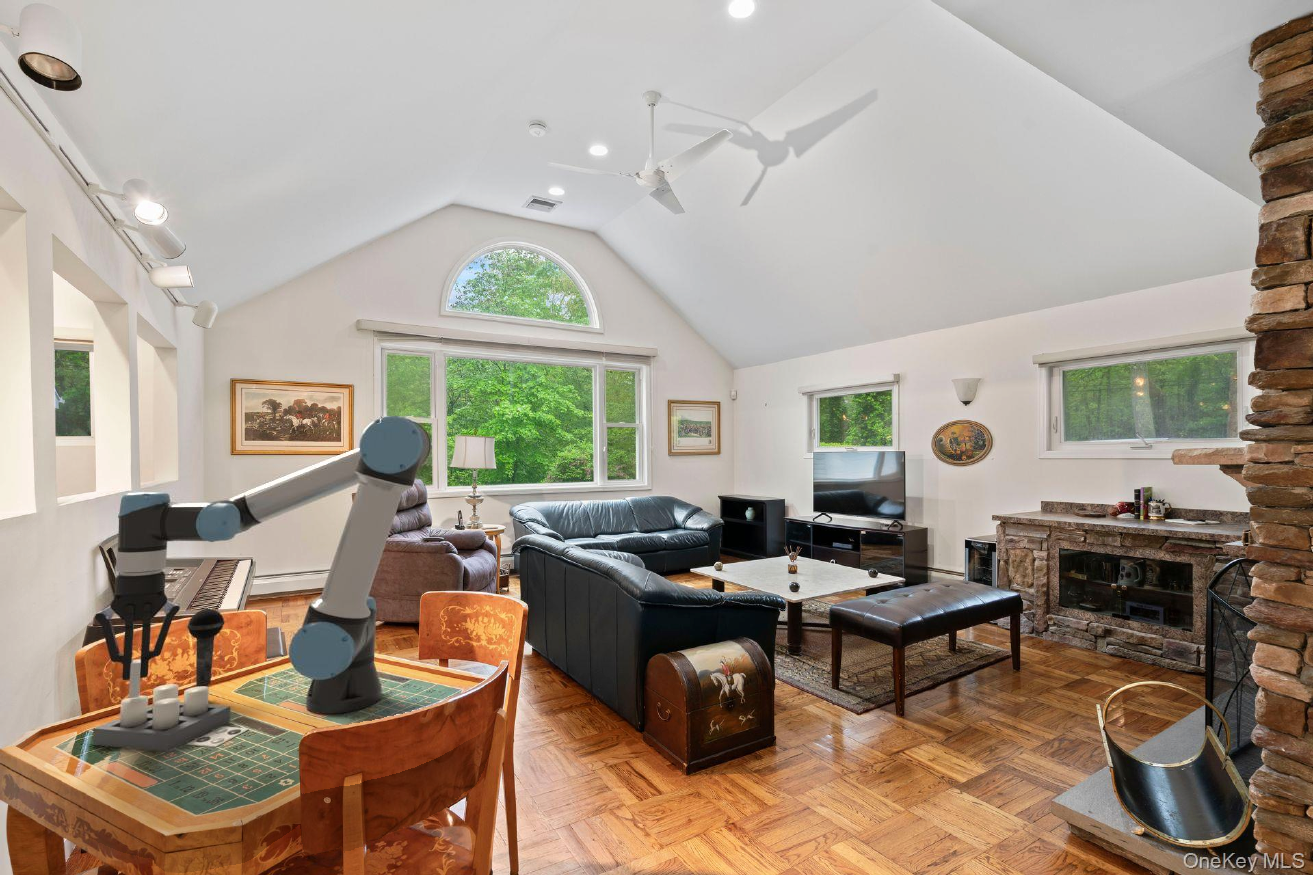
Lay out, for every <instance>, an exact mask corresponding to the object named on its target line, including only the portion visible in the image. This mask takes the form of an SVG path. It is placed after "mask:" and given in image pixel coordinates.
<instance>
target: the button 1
mask: <svg viewBox="0 0 1313 875" xmlns="http://www.w3.org/2000/svg"><path fill="white" fill-rule="evenodd" d="M148 706H149V696H148V695H139V697H137V698H130V699H129V697H127V698H124V699H122V700H121V701H120V713H119V714H120V715H119V716H120V717H119V718H120V727H123V728H128V727H135V726H139V725H141V724H144V723H146V722H147V710H148Z"/></svg>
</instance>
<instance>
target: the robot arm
mask: <svg viewBox="0 0 1313 875" xmlns="http://www.w3.org/2000/svg"><path fill="white" fill-rule="evenodd" d="M431 448H432V441H431V438H430V434H429V433H428V431H427V430H426V429H425V428H424V427H423V426H422V425H421V424H420V423H418V422H415V421H413V420H411V419H408V418H407V417H403V416H399V415H388V416H383V417H379V418H377V419H375V420H374V421H372V422H370V423H369V424H368V425H367V426H366V427H365V429H364V430H363V431H362V433H361V437H360V438H359V447H357V448H355V449H351V450H349V451H347V452H344V453H342V454H339V455H337V456H334V457H331V458H329V459H327V460H324V461H321V462H318V463H316V464H314V465H312V466H308V467H306V468H304V469H301V470H298V471H296V472H293V473H290V474H288V475H286V476H283V477H281V478H278V479H276V480H274V481H271V482H268V483H266V484H263V485H260V486H258V487H255V488H253V489H250V490H248V491H246V492H242V493H240V494H237V495H236V496H233V497H230V498H227V499H224V500H216V501H206V502H180V503H179V502H171V498H170V495H169V493H167V492H158V491H154V492H153V491H149V492H148V491H146V492H142V491H141V492H129V493H125V494H124V495H122V497H121V498H120V507H119V513H118V516H117V518H118V534H117V536H118V538H117V539H118V540H117V550H116V560H115V561H116V562H115V564H116V565H115V571H116V573H119V574H117V575H116V576H115V578H114V580H115V582H114V596H113V599H112V600H111V602H110V606H108V607H106V608H104V609H103V610H98V611H97V612H96V614H95V615H94V618H95V620H96V621H97V622H98V623H99V625H101V629H102V633H103V636H104V639H105V644H106V647H107V650H108V654H109V655H108V656H109V658H110V661H111V662H112V663H120V664H122V674H121V676H122V681H129V685H128V686H129V687H128V688H129V690H128V692H129V693H128V698H129V699H130V698H137V697H139V696H140V691H141V679H143V678H144V679H145V678H147V677H148V675H149V664H150V660H151V659H153V658H157V657H159V656H160V655H161V653H162V651H163V647H164V645H165V643H166V639H167V636H168V632H169V630H170V627H171V624H172V622H173V619H174V617H175V616H176V615H177V614H178V612H179V611H180V610H181V606H180V604H179V603H173V602H171V601H169V600H168V597H167V595H166V594H165V592H166V591H165V587H166V572H165V571H163V570H165V569H166V567H167V566H166V565H167V552H168V550H167V549H168V542H210V543H214V542H223V541H226V542H227V541H230V540H232V539H234V537H235V535H237V534H241V533H243V532H246V531H248V530H250V529H252V528H253V527H254V526H255V527H256V526H257V525H260V524H262V523H265V522H266V521H269V520H271V519H275V518H276V517H279V516H282V515H284V514H287V513H289V512H292V511H295V510H297V509H299V508H301V507H304V506H307V505H310V504H311V503H313V502H316V501H319V500H321V499H323V498H326V497H329V496H331V495H335V494H336V493H338V492H341V491H344V490H346V489H348V488H351V487H354V486H355V485H358V486H357V490H356V492H355V495H354V498H353V501H352V505H351V507H350V510H349V513H348V517H347V519H346V522H345V525H344V527H343V530H342V534H341V536H340V539H339V542H338V546H337V547H336V551H335V554H334V556H333V560H332V563H331V566H330V568H329V571H328V574H327V577H326V581H325V583H324V587H323V589H322V592H321V594H320V595H319V596H316V597H315V598H313V599H312V600H310V602H309V606H308V608H307V612H306V613H305V617H304V620H303V622H302V625H301V627H300V628H299V629H297V631H296V632H295V633H294V636H293V637H292V639H291V641H290V644H289V646H288V647H289V648H288V657H289V661H290V664H291V665H292V667H293V668H294V669H295V671H296V672H297V673H299V674H300V675H301V676H303V677H305V678H307V679H310V680H312V681H311V682H310V685H309V689H308V691H307V694H306V699H305V700H306V701H305V707H306V709H307V710H308V711H310V712H311V713H312V712H313V713H317V714H329V715H330V714H332V715H333V714H341V713H342V714H343V713H348V712H353V711H358V710H361V709H365V708H369V707H370V706H372V705H374V704H376V703H377V702H378V700H379V699H380V700H381V698H382V690H383V687H382V683H381V680H380V677H379V674H378V671H377V667H376V665H375V650H376V649H375V648H376V624H377V620H376V619H377V617H376V616H377V610H378V609H377V603H376V602H377V601H376V599H375V598H374V597H372V596H370V593H371V592H370V591H371V589H372V586H373V582H374V580H375V577H376V573H377V571H378V568H379V565H380V562H381V558H382V556H383V553H384V550H385V547H386V543H387V540H388V538H389V535H390V532H391V529H392V526H393V522H394V520H395V516H396V514H397V511H398V507H399V504H400V502H401V498H402V496H403V493H404V492H406V491H408V490H410V489H411V488H413V487H414V482H416V481H415V480H416V479H417V478H416V477H417V475H418V472H419V468H420V467H421V466H422V465H423V464H424V463H425V462H426V461H427V459H428V458H429V456H430V454H431ZM163 608H164V610H163V611H164V614H165V616H164V618H163V622H162V625H161V627H160V630H159V633H158V637H157V638H156V639H157V640H156V642H155V644H154V648H153V649H151V650H150V647H151V645H150V644H151V632H152V631H151V630H152V629H151V627H152V620H153V618H154V617H156V615H157V614H158V613H159V612H160V610H162V609H163ZM113 612H114V613H115V614H116V615H117V616H118V617H119V618H120V619H121V620H122V621H123V622H124V642H123V653H121V652H120V649H119V644H118V642H117V638H116V635H115V630H114V625H113V623H112V622H113V621H112V620H111V619H112V618H113V615H114V614H113ZM138 621H139V622H140V621H141V622H142V630H141V643H140V644H141V645H140V650H141V651H140V659H133V649H134V648H133V646H134V634H135V633H134V629H135V622H138ZM380 697H381V698H380ZM380 700H379V701H380ZM376 701H377V702H376ZM375 702H376V703H375Z"/></svg>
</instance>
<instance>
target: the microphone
mask: <svg viewBox="0 0 1313 875" xmlns="http://www.w3.org/2000/svg"><path fill="white" fill-rule="evenodd" d="M224 625H225V619H224V616H223V615H222V613H221V612H220V611H218V610H216V609H212V608H206V609H202V610H199V611H197V612H196V613H195V614H193V615H192V616H191V617H190V619H189V621H188V624H187V626H186V628H187V630H188V633H189V635H191V636H192V637H193V638H194V639H196V652H195V653H196V656H195V657H196V662H195V663H196V665H195V666H196V670H195V671H196V673H195V674H196V675H195V676H196V678H195V680H196V682H195V683H196V686H195V687H200V686H206V687H209V685H211V682H212V669H213V657H214V647H215V646H214V645H215V644H214V643H215V637H216V636H218V634H220V632H221V631H222V629H223V627H224Z"/></svg>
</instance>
